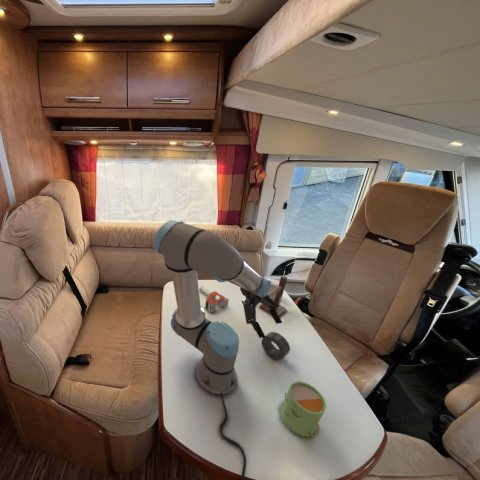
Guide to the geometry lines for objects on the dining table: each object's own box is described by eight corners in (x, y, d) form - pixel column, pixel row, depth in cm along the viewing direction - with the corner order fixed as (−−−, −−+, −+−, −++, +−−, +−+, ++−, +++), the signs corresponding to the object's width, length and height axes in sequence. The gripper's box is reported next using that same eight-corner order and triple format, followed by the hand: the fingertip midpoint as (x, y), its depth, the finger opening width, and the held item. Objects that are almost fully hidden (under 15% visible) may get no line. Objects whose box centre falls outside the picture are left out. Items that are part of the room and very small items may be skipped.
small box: (277, 296, 140) (281, 281, 136) (275, 301, 136) (279, 286, 131) (262, 291, 144) (266, 277, 140) (261, 296, 140) (264, 281, 135)
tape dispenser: (199, 290, 145) (194, 309, 127) (200, 283, 144) (195, 301, 126) (229, 295, 141) (228, 315, 123) (229, 287, 139) (229, 307, 121)
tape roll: (259, 348, 105) (264, 331, 101) (265, 343, 108) (269, 327, 104) (281, 364, 98) (287, 347, 94) (286, 359, 100) (292, 342, 96)
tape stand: (269, 301, 135) (277, 272, 127) (286, 311, 128) (295, 280, 120) (251, 313, 126) (258, 282, 117) (268, 324, 118) (277, 292, 110)
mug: (274, 404, 83) (282, 382, 78) (302, 402, 84) (311, 380, 79) (295, 447, 72) (306, 424, 67) (327, 444, 73) (340, 422, 68)
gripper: (256, 277, 115) (278, 318, 111) (223, 296, 101) (247, 344, 97) (268, 273, 109) (292, 316, 105) (235, 292, 95) (262, 343, 91)
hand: (271, 330), depth 101 cm, fingers open, 13 cm apart
